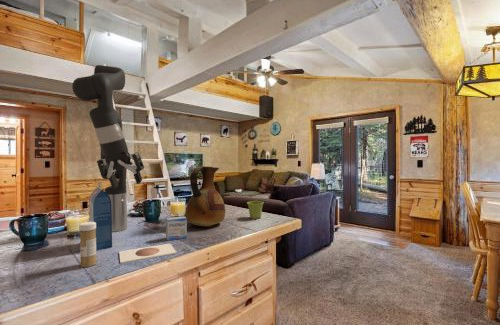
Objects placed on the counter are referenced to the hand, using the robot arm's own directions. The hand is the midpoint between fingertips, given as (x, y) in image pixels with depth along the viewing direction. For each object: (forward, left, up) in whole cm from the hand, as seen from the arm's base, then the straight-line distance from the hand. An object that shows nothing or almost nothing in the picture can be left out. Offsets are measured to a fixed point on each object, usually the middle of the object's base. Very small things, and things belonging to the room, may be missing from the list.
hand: (127, 184), depth 90 cm
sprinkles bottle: (+1, -12, -25) cm, 28 cm away
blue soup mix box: (-19, -9, -25) cm, 33 cm away
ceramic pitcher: (-28, +37, -25) cm, 53 cm away
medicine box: (-13, +19, -25) cm, 34 cm away
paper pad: (-1, +6, -25) cm, 26 cm away
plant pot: (-28, +66, -25) cm, 76 cm away
